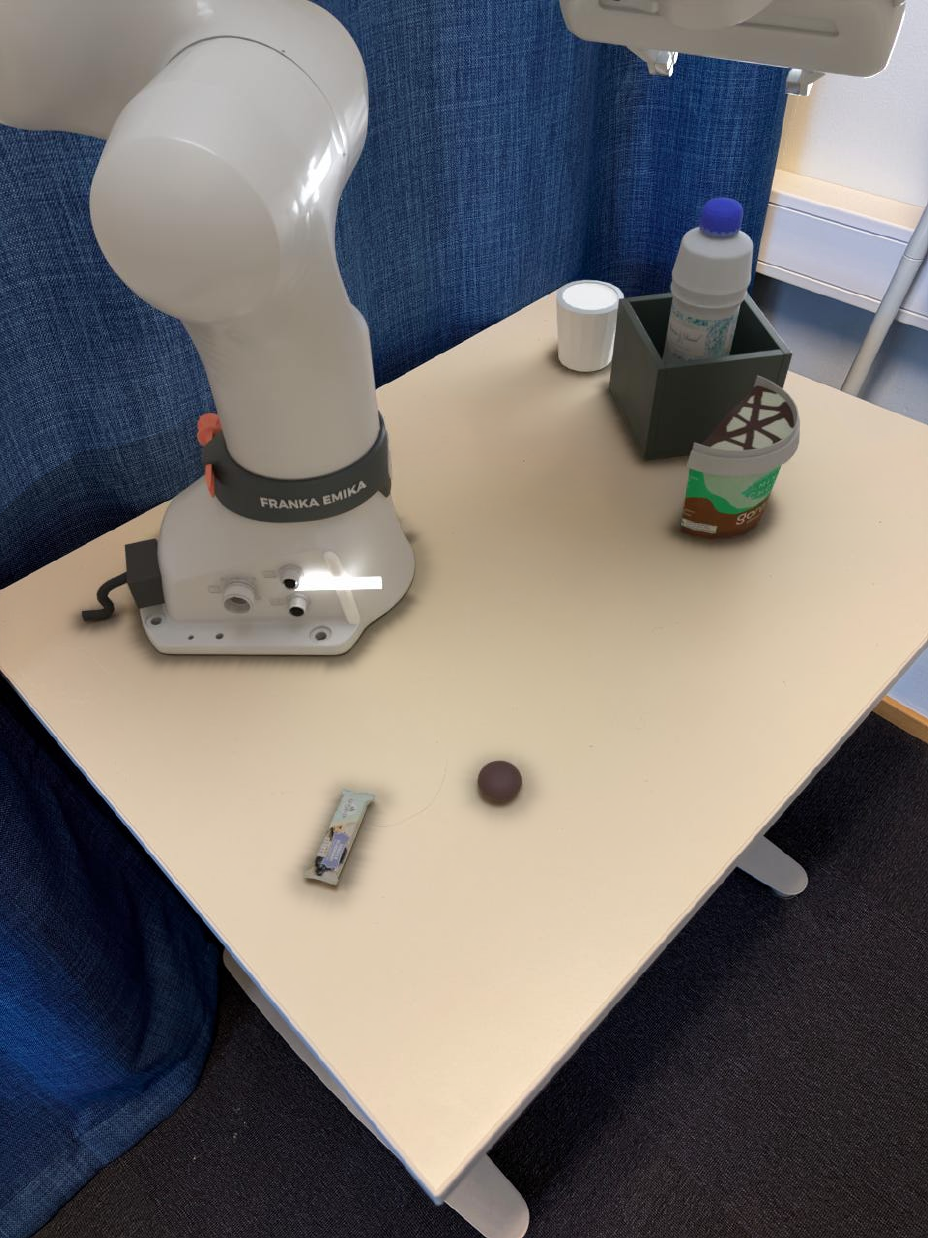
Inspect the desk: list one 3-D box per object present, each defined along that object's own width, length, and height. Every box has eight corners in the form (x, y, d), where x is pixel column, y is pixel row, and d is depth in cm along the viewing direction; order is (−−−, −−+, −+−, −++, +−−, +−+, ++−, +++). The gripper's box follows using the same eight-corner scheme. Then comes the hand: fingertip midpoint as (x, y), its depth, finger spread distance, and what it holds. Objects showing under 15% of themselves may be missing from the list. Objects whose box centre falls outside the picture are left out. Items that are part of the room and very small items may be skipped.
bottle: (636, 404, 89) (666, 198, 74) (685, 380, 92) (722, 176, 77) (686, 437, 85) (728, 227, 70) (735, 410, 88) (785, 203, 73)
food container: (737, 570, 75) (765, 476, 67) (671, 540, 77) (690, 446, 70) (799, 491, 81) (830, 396, 73) (736, 466, 84) (760, 372, 76)
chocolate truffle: (476, 805, 61) (476, 793, 59) (478, 767, 63) (478, 754, 61) (521, 806, 60) (522, 794, 59) (522, 768, 62) (522, 755, 61)
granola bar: (344, 791, 61) (342, 783, 61) (376, 799, 61) (374, 791, 60) (304, 880, 57) (301, 873, 56) (338, 890, 57) (336, 882, 56)
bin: (643, 460, 84) (658, 368, 77) (608, 387, 92) (618, 298, 85) (767, 444, 86) (793, 353, 78) (722, 373, 94) (741, 284, 86)
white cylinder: (539, 359, 96) (542, 298, 91) (577, 332, 99) (581, 271, 94) (593, 382, 93) (598, 320, 88) (629, 353, 96) (637, 292, 91)
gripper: (945, -119, 45) (907, 46, 58) (563, -145, 51) (606, 9, 64) (900, 11, 46) (872, 145, 59) (528, -31, 52) (577, 99, 65)
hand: (730, 74), depth 61 cm, fingers open, 8 cm apart
